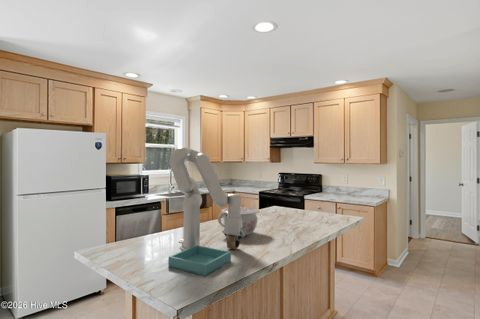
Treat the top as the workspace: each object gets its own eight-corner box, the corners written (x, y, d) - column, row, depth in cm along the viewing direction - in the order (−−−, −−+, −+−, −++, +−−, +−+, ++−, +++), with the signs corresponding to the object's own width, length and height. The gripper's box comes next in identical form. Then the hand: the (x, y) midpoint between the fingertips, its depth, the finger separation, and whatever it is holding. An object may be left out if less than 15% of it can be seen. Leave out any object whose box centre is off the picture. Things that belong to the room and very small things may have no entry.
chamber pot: (260, 230, 216) (260, 202, 216) (258, 240, 188) (259, 208, 188) (223, 228, 218) (223, 201, 218) (216, 238, 191) (217, 207, 191)
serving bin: (168, 267, 139) (168, 256, 139) (196, 254, 158) (196, 245, 158) (205, 276, 128) (205, 265, 128) (230, 261, 148) (230, 251, 148)
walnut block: (227, 247, 168) (227, 235, 168) (231, 245, 172) (231, 233, 172) (234, 249, 165) (234, 237, 165) (238, 247, 169) (239, 235, 170)
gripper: (218, 214, 169) (217, 244, 169) (243, 217, 161) (242, 250, 161) (225, 212, 176) (224, 242, 176) (250, 215, 168) (248, 247, 168)
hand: (232, 245), depth 168 cm, fingers closed on walnut block, 5 cm apart
